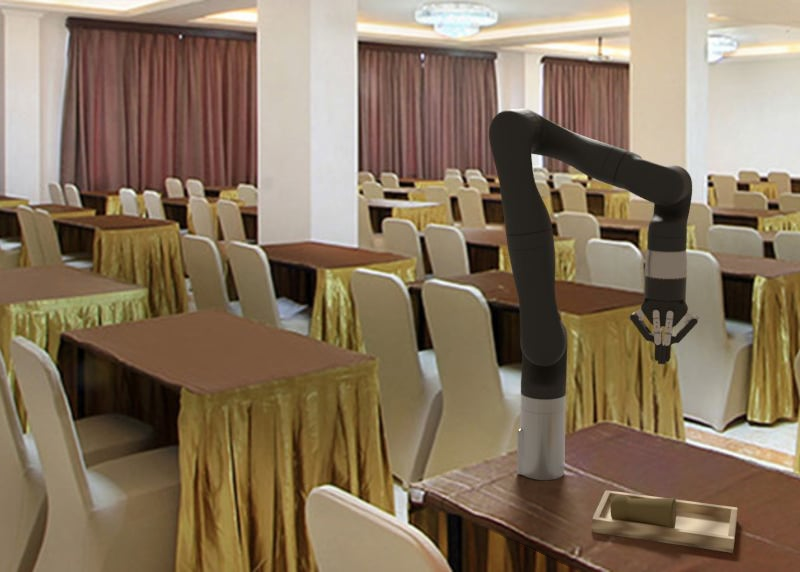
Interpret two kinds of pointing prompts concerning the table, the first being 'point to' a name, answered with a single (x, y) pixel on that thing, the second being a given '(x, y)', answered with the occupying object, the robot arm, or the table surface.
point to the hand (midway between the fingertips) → (662, 363)
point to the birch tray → (691, 529)
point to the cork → (644, 510)
